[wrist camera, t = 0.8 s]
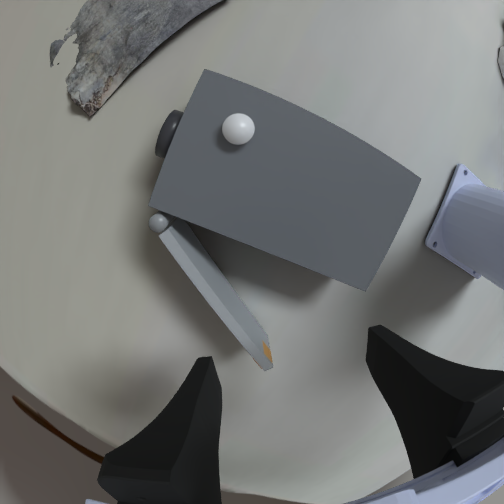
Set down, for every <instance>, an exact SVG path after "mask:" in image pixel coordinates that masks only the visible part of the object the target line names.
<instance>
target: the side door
mask: <svg viewBox="0 0 504 504" xmlns="http://www.w3.org/2000/svg"><path fill="white" fill-rule="evenodd" d="M175 217H176V216H173V215H171V214H168V213H166V212H163V211H158V212H157V213H156V214H155V215H153V216H152V217H151V218H150V220H149V227H150V229H151V230H152V231H154V232H157V233H158V232H161V234H160V235H159V237H160V239H161V240H162V242H163V243H164V244H165V246H166V247H167V249H168V250H169V251H170V253H171V254H172V255H173V257H174V258H175V260H176V261H177V262H178V264H179V265H180V266H181V268H182V269H183V270H184V272H185V273H186V274H187V276H188V277H189V278H190V280H191V281H192V282H193V284H194V285H195V286H196V288H197V289H198V290H199V292H200V293H201V294H202V295H203V297H204V298H205V299H206V301H207V302H208V303H209V304H210V306H211V307H212V308H213V310H214V311H215V312H216V313H217V315H218V316H219V317H220V318H221V320H222V321H223V322H224V323H225V325H226V326H227V327H228V328H229V330H230V331H231V332H232V333H233V334H234V336H235V337H236V338H237V339H238V341H239V342H240V343H241V344H242V345H243V347H244V348H245V349H246V350H247V351H248V353H249V354H250V355H251V356H252V357H253V359H254V361H255V362H256V363H257V364H258V365H259V366H260V368H261V369H263V370H264V371H267V370H269V369H271V368H273V363H272V357H271V351H270V346H269V340H268V335H267V334H266V332H265V331H264V330H263V328H262V327H261V326H260V324H259V323H258V322H257V320H256V319H255V318H254V316H253V315H252V313H251V312H250V311H249V309H248V308H247V307H246V305H245V304H244V303H243V301H242V300H241V299H240V297H239V296H238V294H237V293H236V292H235V290H234V289H233V288H232V286H231V285H230V283H229V282H228V281H227V279H226V278H225V276H224V275H223V274H222V272H221V271H220V270H219V268H218V267H217V265H216V264H215V263H214V261H213V260H212V258H211V257H210V255H209V254H208V253H207V251H206V250H205V248H204V247H203V245H202V244H201V243H200V241H199V240H198V238H197V237H196V235H195V234H194V233H193V231H192V230H191V228H190V227H189V225H188V224H187V222H186V221H185V220H183V219H181V218H178V217H176V218H175ZM174 218H175V219H174ZM169 223H170V224H169ZM168 224H169V225H168Z"/></svg>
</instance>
